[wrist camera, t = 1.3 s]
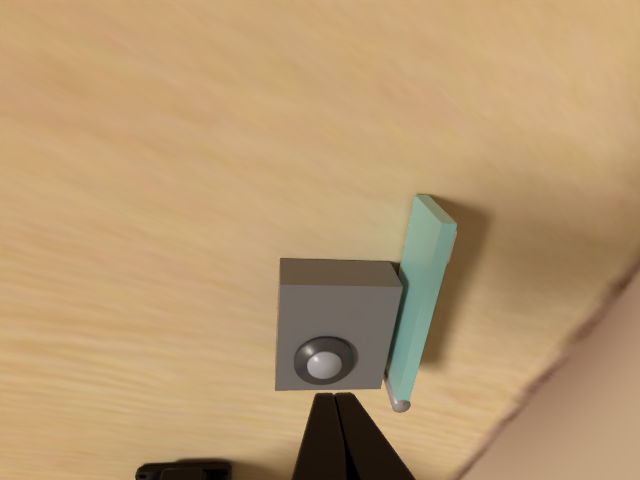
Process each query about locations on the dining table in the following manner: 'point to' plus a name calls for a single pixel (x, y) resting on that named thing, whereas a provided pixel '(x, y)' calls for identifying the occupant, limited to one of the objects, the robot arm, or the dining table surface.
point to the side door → (417, 294)
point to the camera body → (334, 323)
